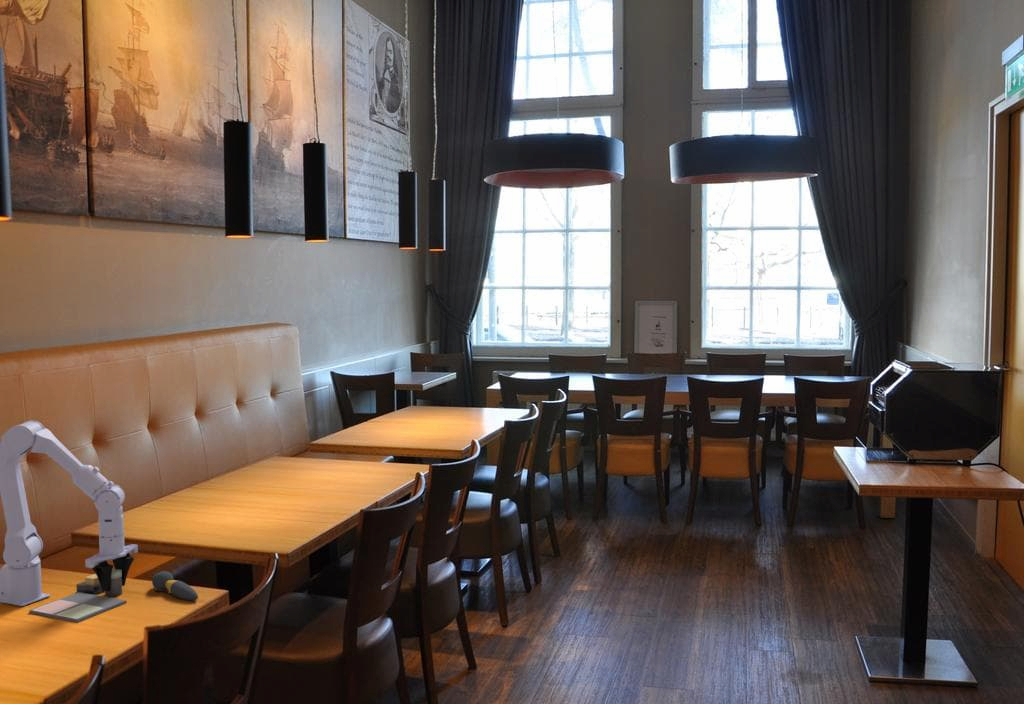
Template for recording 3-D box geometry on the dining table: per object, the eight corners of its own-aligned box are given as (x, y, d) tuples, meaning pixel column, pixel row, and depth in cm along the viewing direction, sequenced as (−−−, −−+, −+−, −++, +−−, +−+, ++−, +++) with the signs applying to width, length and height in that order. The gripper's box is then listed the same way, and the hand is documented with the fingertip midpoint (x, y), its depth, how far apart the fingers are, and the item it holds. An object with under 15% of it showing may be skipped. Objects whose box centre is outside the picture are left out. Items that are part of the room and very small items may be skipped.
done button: (85, 585, 227) (84, 577, 227) (95, 581, 230) (95, 573, 230) (94, 586, 226) (93, 578, 226) (104, 582, 229) (104, 575, 229)
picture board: (29, 612, 212) (29, 609, 212) (79, 594, 225) (78, 591, 225) (77, 622, 206) (77, 619, 205) (126, 602, 218) (126, 599, 218)
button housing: (76, 592, 226) (76, 584, 226) (96, 585, 232) (95, 577, 232) (93, 595, 224) (93, 587, 224) (113, 587, 230) (112, 580, 229)
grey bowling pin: (210, 598, 222) (209, 578, 221) (193, 604, 217) (192, 584, 217) (160, 584, 232) (159, 566, 232) (143, 590, 228) (142, 571, 228)
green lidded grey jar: (101, 595, 224) (100, 572, 223) (114, 590, 227) (113, 567, 227) (113, 597, 222) (112, 574, 222) (126, 592, 226) (125, 569, 225)
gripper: (99, 543, 215) (101, 599, 216) (146, 529, 229) (147, 581, 230) (78, 540, 218) (80, 595, 219) (125, 526, 232) (127, 577, 232)
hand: (113, 587), depth 225 cm, fingers closed on green lidded grey jar, 4 cm apart
